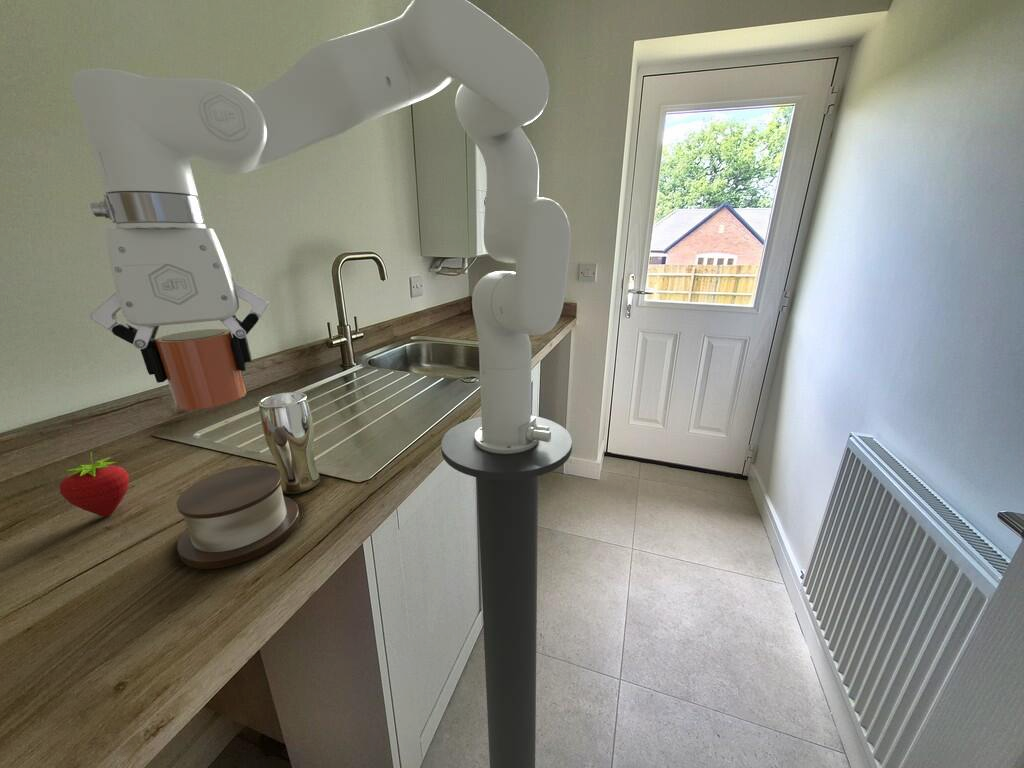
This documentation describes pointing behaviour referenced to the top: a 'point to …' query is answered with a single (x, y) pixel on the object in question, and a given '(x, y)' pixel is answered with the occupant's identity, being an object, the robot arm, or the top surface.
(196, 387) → the terracotta cup
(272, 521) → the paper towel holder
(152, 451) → the top surface
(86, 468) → the strawberry
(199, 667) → the top surface
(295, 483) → the beer glass
